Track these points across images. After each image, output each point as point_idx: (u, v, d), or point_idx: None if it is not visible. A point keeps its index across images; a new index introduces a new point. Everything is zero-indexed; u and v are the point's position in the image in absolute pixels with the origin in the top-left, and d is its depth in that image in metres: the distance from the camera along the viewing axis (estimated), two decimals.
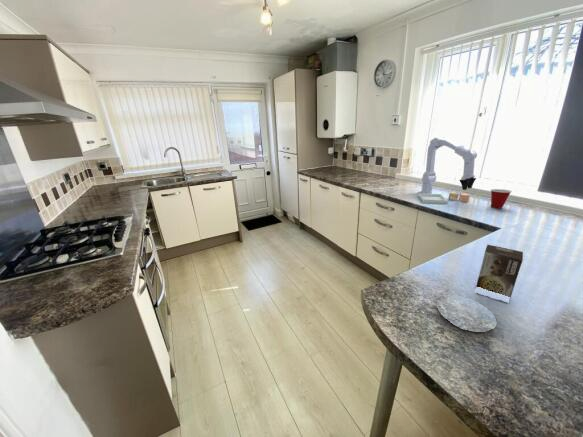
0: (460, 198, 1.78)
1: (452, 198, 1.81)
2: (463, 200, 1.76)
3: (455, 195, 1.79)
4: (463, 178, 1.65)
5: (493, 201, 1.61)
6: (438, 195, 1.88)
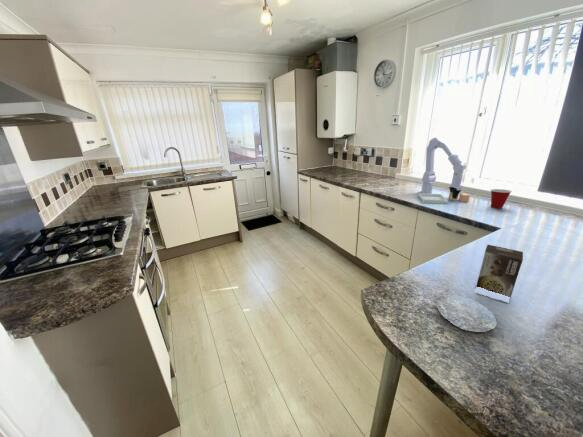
0: (460, 198, 1.78)
1: (452, 198, 1.81)
2: (463, 200, 1.76)
3: None
4: (459, 189, 1.73)
5: (493, 201, 1.61)
6: (438, 195, 1.88)
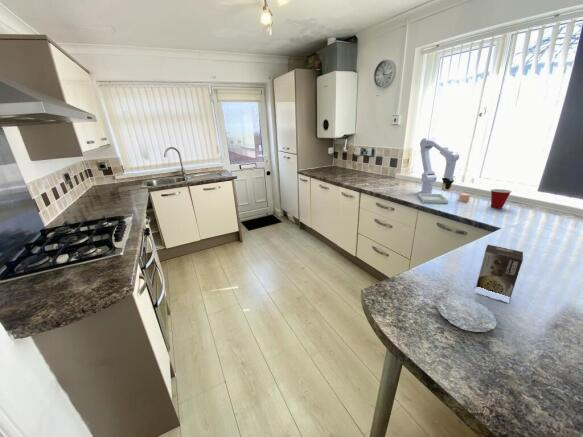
0: (460, 198, 1.78)
1: (445, 189, 1.79)
2: (463, 200, 1.76)
3: None
4: (451, 179, 1.72)
5: (493, 201, 1.61)
6: (438, 195, 1.88)
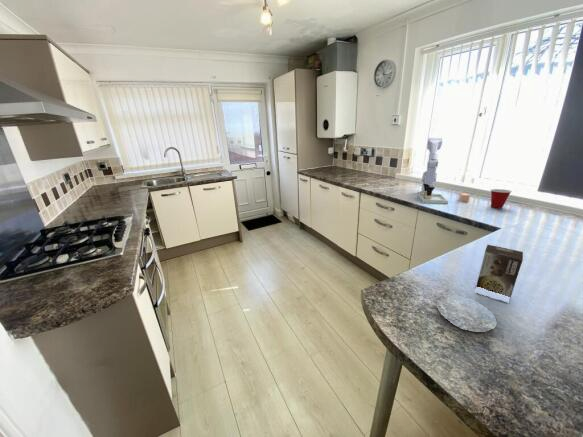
0: (460, 198, 1.78)
1: (426, 197, 1.84)
2: (463, 200, 1.76)
3: None
4: (431, 185, 1.76)
5: (493, 201, 1.61)
6: (438, 195, 1.88)
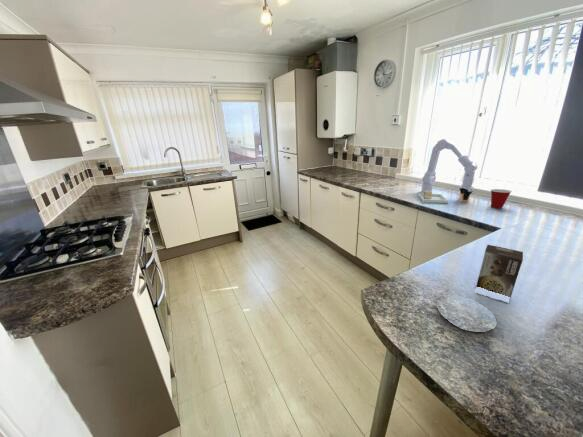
0: (460, 198, 1.78)
1: (426, 197, 1.84)
2: (463, 200, 1.76)
3: (429, 194, 1.83)
4: (470, 190, 1.69)
5: (493, 201, 1.61)
6: (438, 195, 1.88)
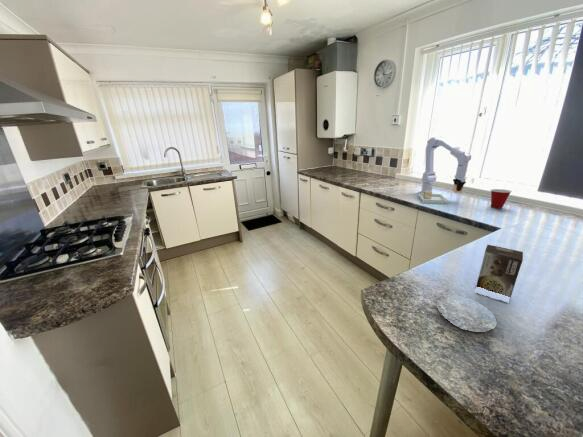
0: (454, 189, 1.76)
1: (426, 197, 1.84)
2: (457, 191, 1.74)
3: (429, 194, 1.83)
4: (463, 180, 1.67)
5: (493, 201, 1.61)
6: (438, 195, 1.88)
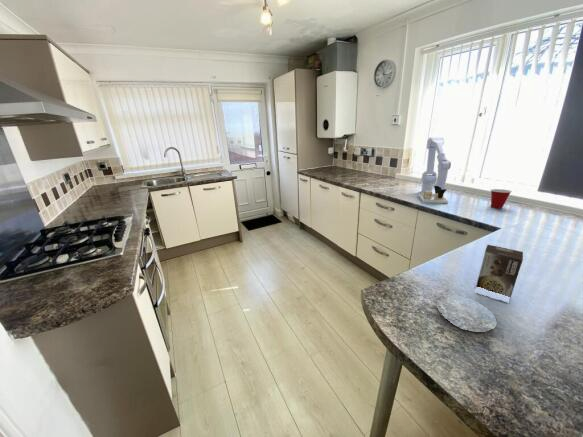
0: (435, 198, 1.79)
1: (426, 197, 1.84)
2: None
3: (429, 194, 1.83)
4: (443, 188, 1.69)
5: (493, 201, 1.61)
6: None
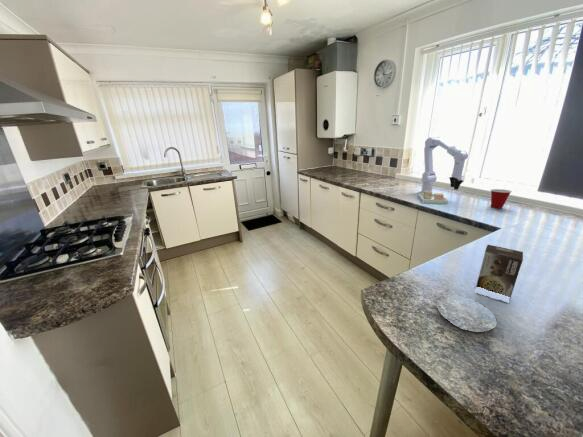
0: (435, 198, 1.79)
1: (426, 197, 1.84)
2: None
3: (429, 194, 1.83)
4: (460, 179, 1.67)
5: (493, 201, 1.61)
6: None
